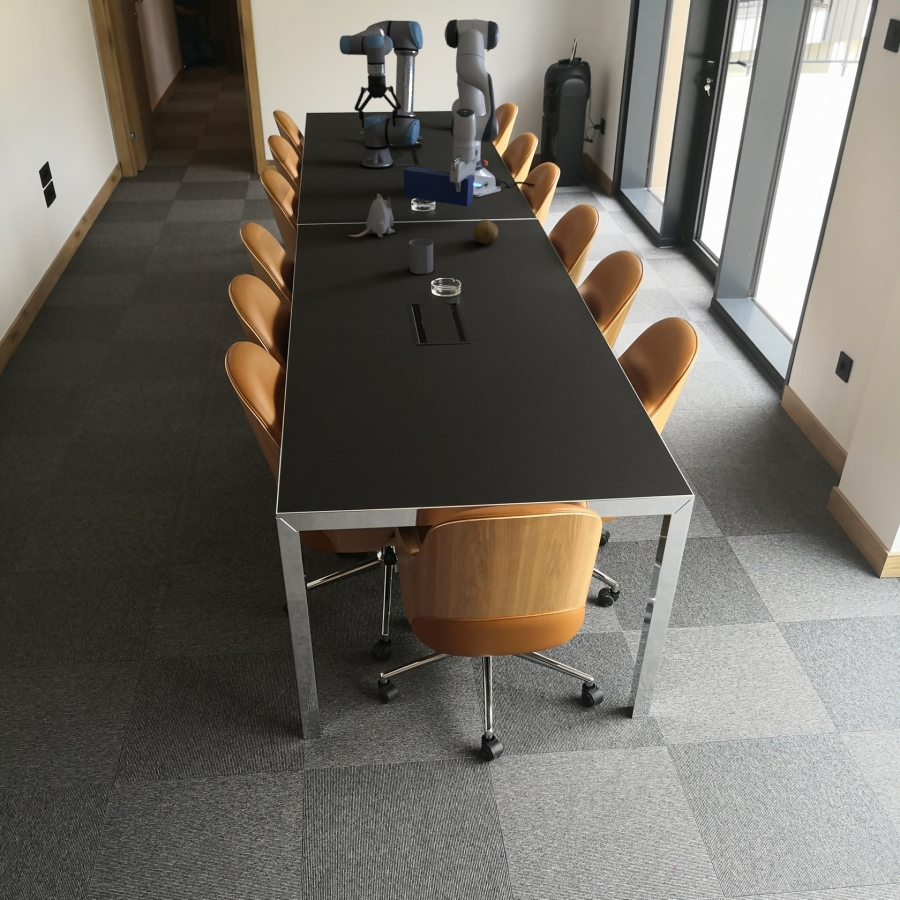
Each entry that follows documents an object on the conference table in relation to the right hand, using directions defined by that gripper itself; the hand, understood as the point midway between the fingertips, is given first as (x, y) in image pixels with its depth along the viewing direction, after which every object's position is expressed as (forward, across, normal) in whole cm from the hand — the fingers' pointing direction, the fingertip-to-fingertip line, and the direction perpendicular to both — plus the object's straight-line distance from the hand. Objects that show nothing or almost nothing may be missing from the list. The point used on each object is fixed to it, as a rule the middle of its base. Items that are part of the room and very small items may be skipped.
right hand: (462, 189), depth 347 cm
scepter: (+14, +109, +84) cm, 139 cm away
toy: (+14, -31, +25) cm, 43 cm away
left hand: (-13, +30, +51) cm, 61 cm away
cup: (+14, -56, -6) cm, 58 cm away
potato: (+13, -21, -18) cm, 30 cm away
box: (+6, 0, +10) cm, 12 cm away
